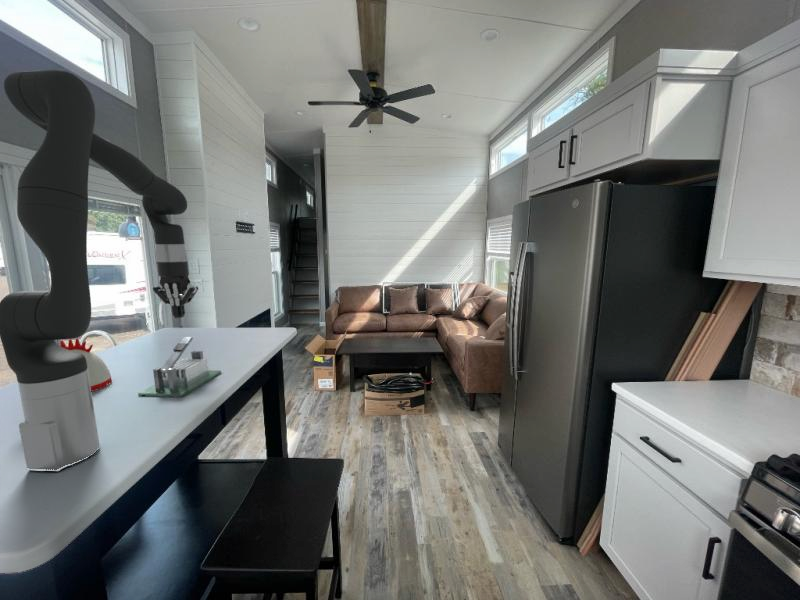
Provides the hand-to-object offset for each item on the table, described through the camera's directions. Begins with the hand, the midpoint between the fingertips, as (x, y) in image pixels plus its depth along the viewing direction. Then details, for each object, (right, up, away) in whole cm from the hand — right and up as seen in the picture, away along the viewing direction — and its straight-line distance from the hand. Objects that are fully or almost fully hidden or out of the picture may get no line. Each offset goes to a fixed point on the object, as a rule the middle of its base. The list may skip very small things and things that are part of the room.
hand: (179, 317), depth 99 cm
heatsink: (0, -20, +1) cm, 20 cm away
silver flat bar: (0, -11, -1) cm, 11 cm away
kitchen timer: (-29, -21, -1) cm, 36 cm away
